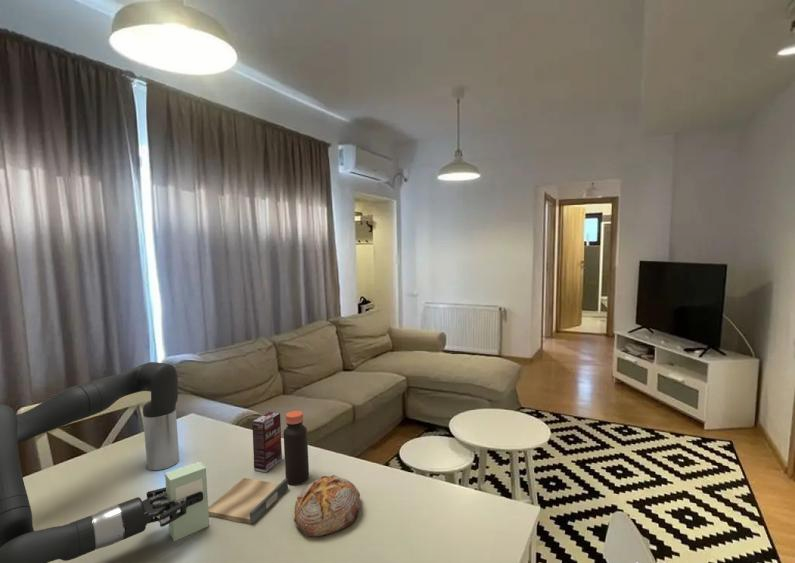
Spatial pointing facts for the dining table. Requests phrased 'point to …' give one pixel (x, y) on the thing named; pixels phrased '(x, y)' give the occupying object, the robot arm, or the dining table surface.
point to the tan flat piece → (248, 500)
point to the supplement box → (267, 441)
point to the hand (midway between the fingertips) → (198, 491)
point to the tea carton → (182, 486)
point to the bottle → (296, 449)
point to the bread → (326, 506)
